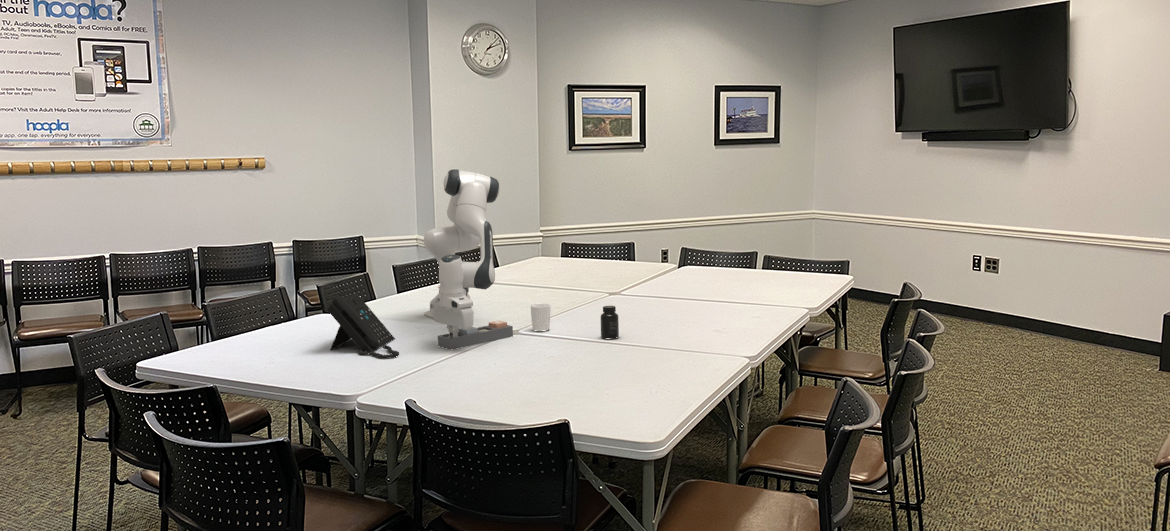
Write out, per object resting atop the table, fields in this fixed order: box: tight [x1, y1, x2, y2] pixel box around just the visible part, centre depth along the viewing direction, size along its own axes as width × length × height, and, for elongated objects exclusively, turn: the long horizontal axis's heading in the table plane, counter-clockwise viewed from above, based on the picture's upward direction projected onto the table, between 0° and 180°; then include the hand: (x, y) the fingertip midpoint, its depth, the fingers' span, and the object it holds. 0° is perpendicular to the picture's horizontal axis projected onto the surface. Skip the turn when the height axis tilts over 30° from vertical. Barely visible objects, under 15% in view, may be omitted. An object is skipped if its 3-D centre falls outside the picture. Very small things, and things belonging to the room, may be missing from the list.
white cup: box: [530, 303, 552, 331], centre depth 332 cm, size 8×8×10 cm
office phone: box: [326, 293, 400, 359], centre depth 305 cm, size 29×28×20 cm
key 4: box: [488, 320, 508, 329], centre depth 322 cm, size 5×5×3 cm
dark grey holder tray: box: [437, 324, 514, 351], centre depth 315 cm, size 8×29×4 cm, turn 135°
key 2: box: [459, 326, 478, 335], centre depth 313 cm, size 5×5×3 cm
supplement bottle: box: [600, 305, 620, 339], centre depth 318 cm, size 7×7×12 cm
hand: (453, 337), depth 308 cm, fingers closed, pressing on key 1
